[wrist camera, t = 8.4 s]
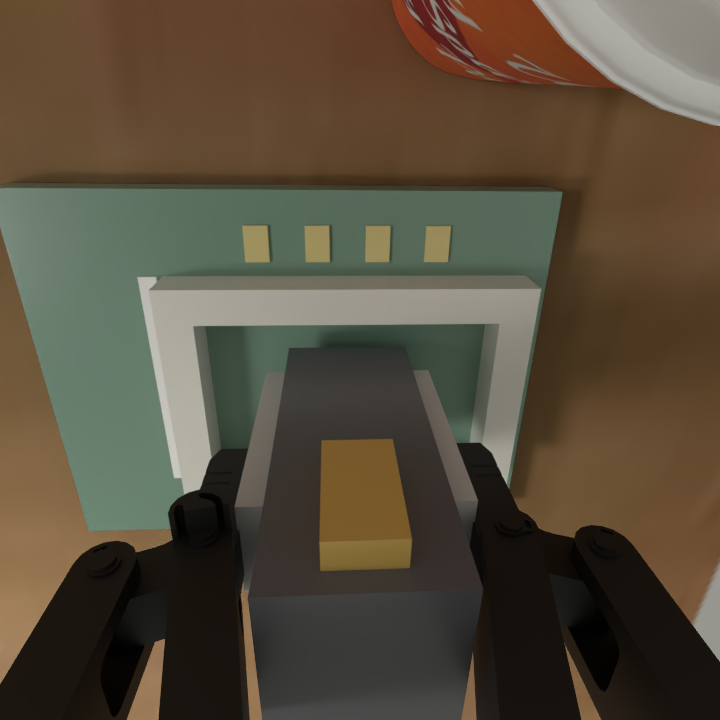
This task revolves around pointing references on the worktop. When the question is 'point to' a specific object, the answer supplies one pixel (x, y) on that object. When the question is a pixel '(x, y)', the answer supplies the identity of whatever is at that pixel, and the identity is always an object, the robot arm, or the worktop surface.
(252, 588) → the plug
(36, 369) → the worktop surface
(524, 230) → the board
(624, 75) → the paper cup
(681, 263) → the worktop surface
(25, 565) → the worktop surface
